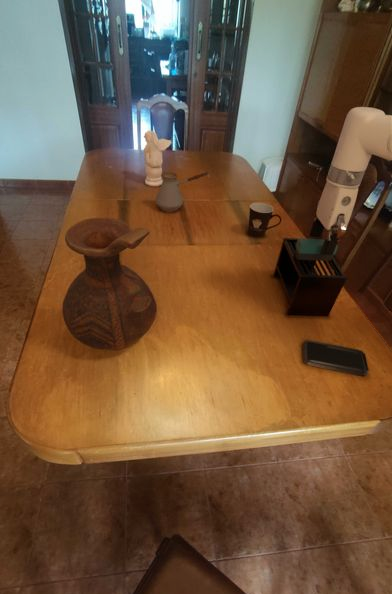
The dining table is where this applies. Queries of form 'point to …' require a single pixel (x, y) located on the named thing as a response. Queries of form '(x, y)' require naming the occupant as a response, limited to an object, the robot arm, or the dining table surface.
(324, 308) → the rack
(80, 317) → the jug
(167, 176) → the coffee pot
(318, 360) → the phone
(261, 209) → the coffee mug
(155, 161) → the cherub figurine
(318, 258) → the teal rectangular block
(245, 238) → the dining table surface
